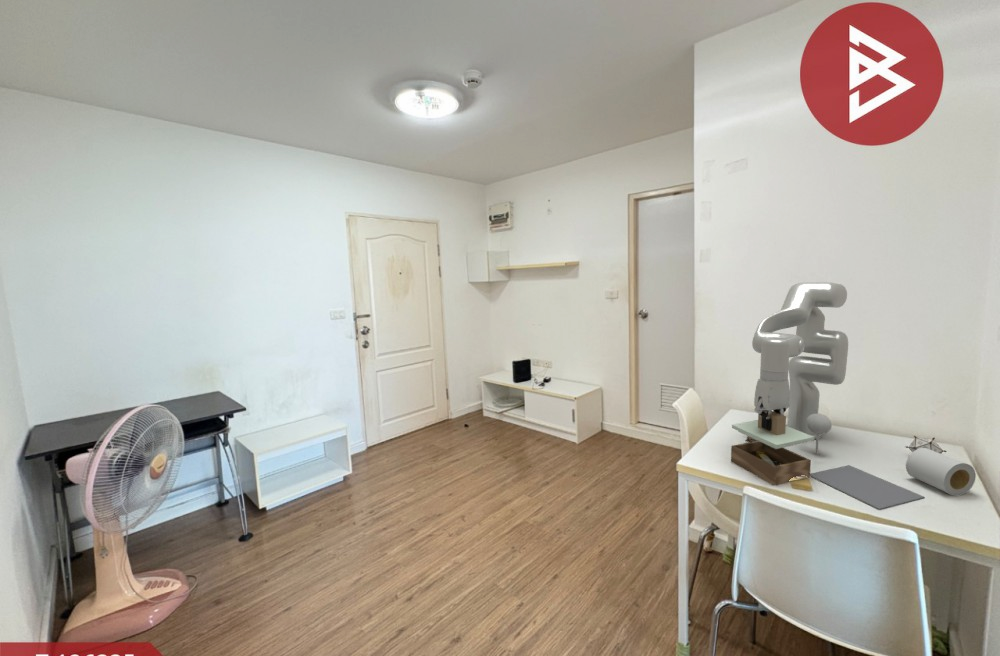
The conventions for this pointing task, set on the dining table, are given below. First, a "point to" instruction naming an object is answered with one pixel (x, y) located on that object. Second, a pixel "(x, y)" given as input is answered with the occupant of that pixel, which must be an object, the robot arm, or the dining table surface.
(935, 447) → the grey rod frame
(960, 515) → the dining table surface
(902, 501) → the mat
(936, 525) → the dining table surface
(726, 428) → the dining table surface
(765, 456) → the medication box
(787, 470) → the crate
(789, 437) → the lid
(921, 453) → the toilet paper
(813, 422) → the lollipop
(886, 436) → the dining table surface
